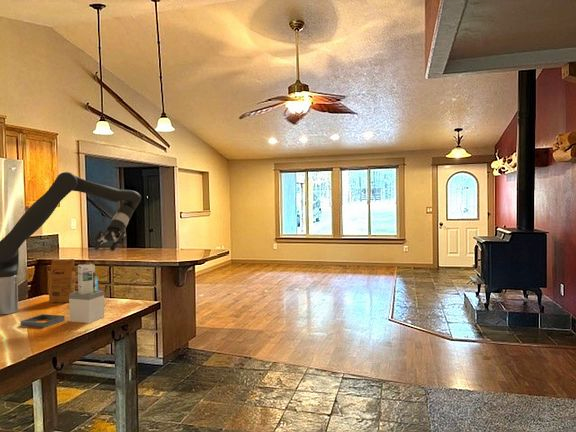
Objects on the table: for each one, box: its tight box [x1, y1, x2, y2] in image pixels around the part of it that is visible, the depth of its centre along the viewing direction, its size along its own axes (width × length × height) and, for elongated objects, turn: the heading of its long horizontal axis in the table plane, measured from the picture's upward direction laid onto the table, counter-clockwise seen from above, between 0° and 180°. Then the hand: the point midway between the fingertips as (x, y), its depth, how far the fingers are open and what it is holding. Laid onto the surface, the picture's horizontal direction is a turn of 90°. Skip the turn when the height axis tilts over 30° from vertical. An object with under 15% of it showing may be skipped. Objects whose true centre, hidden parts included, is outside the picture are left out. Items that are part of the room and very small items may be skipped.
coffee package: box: [48, 258, 76, 304], centre depth 222 cm, size 10×12×22 cm
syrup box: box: [77, 263, 96, 295], centre depth 189 cm, size 6×6×14 cm
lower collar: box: [20, 313, 66, 329], centre depth 183 cm, size 12×12×2 cm
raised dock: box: [68, 289, 105, 324], centre depth 189 cm, size 10×10×12 cm
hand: (103, 249), depth 199 cm, fingers open, 8 cm apart
